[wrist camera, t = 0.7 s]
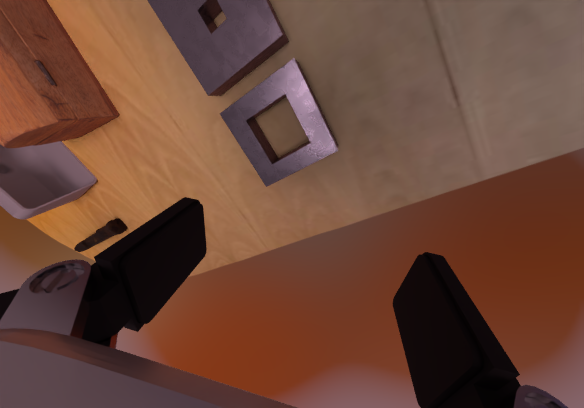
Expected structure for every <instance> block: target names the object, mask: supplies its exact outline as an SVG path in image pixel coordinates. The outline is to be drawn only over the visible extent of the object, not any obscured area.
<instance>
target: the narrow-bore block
mask: <svg viewBox="0 0 584 408" xmlns="http://www.w3.org/2000/svg"><path fill="white" fill-rule="evenodd" d="M148 2H149V4H150V5H151V7H152V8H153V10H154V11H155V13H156V15H157V16H158V18H159V19H160V21H161V22H162V24H163V26H164V27H165V29H166V30H167V32H168V33H169V35H170V36H171V38H172V40H173V41H174V43H175V44H176V46H177V47H178V49H179V51H180V52H181V54H182V55H183V57H184V58H185V60H186V62H187V63H188V65H189V66H190V68H191V69H192V71H193V73H194V74H195V76H196V77H197V79H198V80H199V82H200V84H201V85H202V87H203V88H204V90H205V91H206V93H207V95H208V96H221V95H222V94H224V93H225V92H226V91H227V90H229V89H230V88H231V87H232V86H234V85H235V84H236V83H237V82H239V81H240V80H241V79H242V78H244V77H245V76H246V75H247V74H249V73H250V72H251V71H252V70H254V69H255V68H256V67H258V66H259V65H260V64H261V63H263V62H264V61H265V60H266V59H268V58H269V57H270V56H271V55H273V54H274V53H275V52H276V51H278V50H279V49H280V48H281V47H283V46H284V45H285V44H286V43H288V42H289V41H288V39H287V37H286V34H285V32H284V30H283V28H282V26H281V24H280V22H279V20H278V18H277V16H276V13H275V11H274V9H273V7H272V5H271V3H270V1H269V0H148ZM222 10H223V12H224V14H225V16H226V18H227V19H226V20H225V21H224V22H223V23H222V24H221V25H220V26H219V27H218V28H217V26H216V24H215V22H214V21H213V19H214V18H215V17H216V16H217V15H218V14H219V13H220V12H221V11H222Z"/></svg>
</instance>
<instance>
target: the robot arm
mask: <svg viewBox="0 0 584 408" xmlns="http://www.w3.org/2000/svg"><path fill="white" fill-rule="evenodd" d="M205 254H206V237H205V225H204V213H203V205H202V204H200V202H199V201H198V200H196V199H191V198H187V197H185V198H183V199H181V200H180V201H178V202H177V203H175V204H173V205H172V206H170V207H169V208H167V209H166V210H164V211H163V212H161V213H160V214H158V215H157V216H155V217H154V218H152V219H151V220H149V221H148V222H146V223H145V224H143V225H142V226H140V227H139V228H137V229H136V230H134V231H133V232H131V233H130V234H128V235H127V236H125V237H124V238H122V239H121V240H119V241H118V242H116V243H115V244H113V245H112V246H110V247H109V248H107V249H106V250H104V251H103V252H101V253H99V254H98V255H96V256H95V257H94V258H95V260H96V263H94V264H93V265H90V264H89V263H88V262H86V261H84V260H67V261H62V262H58V263H55V264H52V265H50V266H48V267H45V268H43V269H41V270H39V271H38V272H36V273H34V274H33V275H32V276H30V277H29V278H28V279H27V280H26V281H25V282H24V283H23V284H22V286H21V288H20V289H17V290H13V291H9V292H5V293H1V294H0V408H297V407H293V406H291V405H287V404H284V403H281V402H278V401H275V400H272V399H269V398H266V397H263V396H260V395H257V394H253V393H251V392H248V391H245V390H242V389H238V388H235V387H232V386H229V385H226V384H223V383H220V382H217V381H214V380H211V379H208V378H205V377H202V376H198V375H195V374H192V373H189V372H186V371H183V370H180V369H177V368H173V367H170V366H167V365H164V364H161V363H158V362H155V361H151V360H148V359H145V358H142V357H139V356H136V355H133V354H130V353H127V352H123V351H120V350H117V349H116V343H117V335H118V332H119V331H120V330H121V329H122V328H123V327H125V328H128V329H131V330H134V331H137V332H138V331H139V330H140V329H141V327H142V326H143V325H144V324H147V323H149V322H150V321H151V320H152V319H153V318H154V317H155V315H156V314H157V313H158V312H159V311H160V309H161V308H162V307H163V306H164V305H165V303H166V302H167V301H168V300H169V299H170V297H171V296H172V295H173V294H174V293H175V291H176V290H177V289H178V288H179V287H180V285H181V284H182V283H183V282H184V281H185V279H186V278H187V277H188V276H189V275H190V273H191V272H192V271H193V270H194V269H195V267H196V266H197V265H198V264H199V263H200V261H201V260H202V259H203V258H204V256H205ZM393 308H394V312H395V316H396V319H397V324H398V328H399V332H400V335H401V339H402V343H403V347H404V351H405V355H406V359H407V363H408V367H409V371H410V375H411V379H412V382H413V386H414V390H415V394H416V398H417V401H418V404H419V406H420V407H421V408H568V407H567V406H565V405H564V404H563V403H562V402H560V401H559V400H558V399H556V398H555V397H553V396H552V395H550V394H549V393H547V392H546V391H543V390H541V389H539V388H537V387H534V386H530V385H523V386H521V385H520V384H519V382H518V380H517V379H516V377H517V376H519V375H520V374H519V373H518V371H517V369H516V368H515V366H514V365H513V363H512V362H511V360H510V359H509V357H508V355H507V354H506V352H505V351H504V349H503V348H502V346H501V345H500V343H499V342H498V340H497V338H496V337H495V335H494V334H493V332H492V331H491V329H490V328H489V326H488V325H487V323H486V321H485V320H484V318H483V317H482V315H481V314H480V312H479V311H478V309H477V308H476V306H475V305H474V303H473V301H472V300H471V298H470V297H469V295H468V294H467V292H466V291H465V289H464V287H463V286H462V284H461V283H460V281H459V280H458V278H457V277H456V275H455V274H454V272H453V270H452V269H451V267H450V266H449V264H448V263H447V261H446V260H445V258H444V257H443V256H441V255H437V254H432V253H428V252H425V253H423V254H422V255H418V256H417V258H416V260H415V262H414V263H413V265H412V267H411V268H410V270H409V272H408V274H407V276H406V277H405V279H404V281H403V283H402V284H401V286H400V288H399V289H398V291H397V293H396V295H395V297H394V299H393Z"/></svg>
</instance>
